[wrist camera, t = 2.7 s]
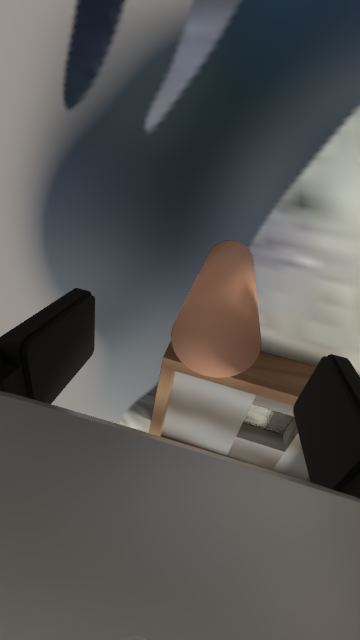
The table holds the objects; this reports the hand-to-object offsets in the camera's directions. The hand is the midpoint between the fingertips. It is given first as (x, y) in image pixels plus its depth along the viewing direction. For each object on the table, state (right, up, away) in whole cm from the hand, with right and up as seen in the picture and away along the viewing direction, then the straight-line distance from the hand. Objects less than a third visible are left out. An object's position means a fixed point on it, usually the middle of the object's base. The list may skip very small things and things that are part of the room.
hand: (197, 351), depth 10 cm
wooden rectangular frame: (+6, -8, +16) cm, 19 cm away
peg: (+3, +6, +9) cm, 11 cm away
